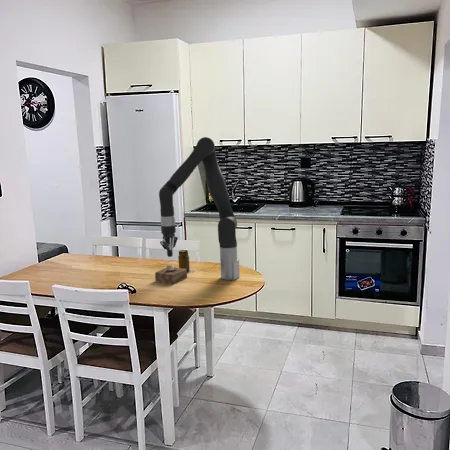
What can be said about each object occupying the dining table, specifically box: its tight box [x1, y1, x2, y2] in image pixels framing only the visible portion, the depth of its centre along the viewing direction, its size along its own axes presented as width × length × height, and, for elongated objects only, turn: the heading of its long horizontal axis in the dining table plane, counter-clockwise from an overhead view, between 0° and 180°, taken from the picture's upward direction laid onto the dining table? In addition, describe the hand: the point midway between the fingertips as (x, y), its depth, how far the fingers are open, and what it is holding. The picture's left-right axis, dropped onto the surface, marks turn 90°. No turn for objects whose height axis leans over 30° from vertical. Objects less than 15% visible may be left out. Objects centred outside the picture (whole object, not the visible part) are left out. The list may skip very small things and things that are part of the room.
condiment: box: [177, 249, 195, 274], centre depth 243 cm, size 7×8×12 cm
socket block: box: [154, 266, 188, 285], centre depth 230 cm, size 12×12×5 cm
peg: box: [166, 264, 175, 272], centre depth 229 cm, size 4×4×8 cm
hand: (170, 256), depth 228 cm, fingers closed
